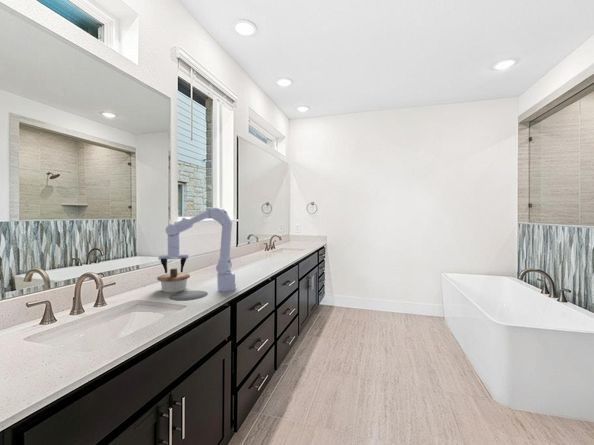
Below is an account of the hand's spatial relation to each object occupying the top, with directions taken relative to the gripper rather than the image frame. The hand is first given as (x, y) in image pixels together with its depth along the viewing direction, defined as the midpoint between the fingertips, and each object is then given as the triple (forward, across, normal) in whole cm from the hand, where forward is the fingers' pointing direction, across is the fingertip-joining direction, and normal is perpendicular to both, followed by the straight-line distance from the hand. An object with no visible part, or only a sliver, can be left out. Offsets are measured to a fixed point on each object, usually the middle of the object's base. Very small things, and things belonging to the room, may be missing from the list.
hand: (174, 272), depth 152 cm
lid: (+3, 0, 0) cm, 3 cm away
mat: (+10, +9, -14) cm, 19 cm away
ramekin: (+10, 0, 0) cm, 10 cm away
